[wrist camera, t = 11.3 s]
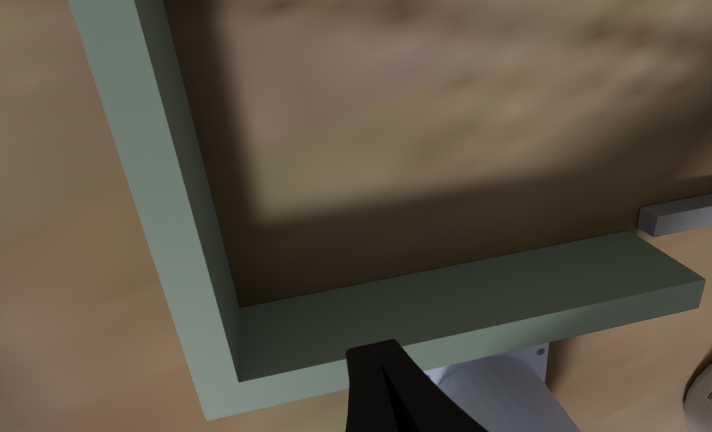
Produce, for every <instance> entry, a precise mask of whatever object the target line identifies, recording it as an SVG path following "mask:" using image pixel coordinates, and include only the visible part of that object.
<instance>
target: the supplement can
mask: <svg viewBox="0 0 712 432" xmlns="http://www.w3.org/2000/svg"><path fill="white" fill-rule="evenodd" d="M684 405H685V410H686V412H685V419H686V424H687V427H688V428H689V429H690V430H691V431H692V432H712V363H711V364H710V365H709V366H708V367H707V368H706V369H705V370H704V371H703V372H702V373H701V374H700V375H698V376H697V377H696V379H695V381H694V382H693V384H692V385H691V387H690V388H689V390H688V392H687V396H686V399H685V403H684Z"/></svg>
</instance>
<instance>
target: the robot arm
mask: <svg viewBox="0 0 712 432" xmlns="http://www.w3.org/2000/svg"><path fill="white" fill-rule="evenodd" d="M548 348H549V342H548V343H544V344H539V345H535V346H531V347H526V348H522V349H518V350H513V351H509V352H505V353H500V354H496V355H492V356H487V357H483V358H479V359H474V360H470V361H466V362H461V363H457V364H453V365H448V366H444V367H440V368H435V369H431V370H427V371H422V369H421V368H420V367H419V366H418V365H417V364H416V363H415V362H414V361H413V359H412V358H411V357H410V356H409V355H408V354H407V352H406V351H405V350H404V349H403V347H402V346H401V345H400V344H399V342H398V341H396V340H395V339H390V340H386V341H381V342H376V343H372V344H367V345H363V346H358V347H353V348H349V349H348V350H347V351H346V353H345V354H346V362H347V369H348V376H349V401H348V416H347V424H346V431H345V432H581V431H580V430H579V429H578V427H577V426H576V425H575V423H574V422H573V421H572V419H571V418H570V417H569V415H568V414H567V413H566V411H565V410H564V409H563V407H562V406H561V405H560V403H559V402H558V401H557V400H556V398H555V397H554V396H553V394H552V393H551V392H550V390H549V389H548V388H547V386H546V385H545V377H546V367H547V358H548Z"/></svg>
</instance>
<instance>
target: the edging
mask: <svg viewBox="0 0 712 432" xmlns="http://www.w3.org/2000/svg"><path fill="white" fill-rule="evenodd" d="M711 225H712V194H707V195H702V196H697V197H692V198H687V199H682V200H676V201H671V202H666V203H661V204H656V205H650V206H645V207H641V209H640V214H639V219H638V225H637V227H638V228H639V229H641V230H643V231H644V232H646V233H647V234H649V235H651V236H652V237H657V236H662V235H667V234H672V233H677V232H682V231H687V230H691V229H696V228H701V227H706V226H711Z"/></svg>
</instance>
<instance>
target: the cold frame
mask: <svg viewBox="0 0 712 432" xmlns="http://www.w3.org/2000/svg"><path fill="white" fill-rule="evenodd" d="M68 1H69V4H70V7H71V10H72V14H73V17H74V20H75V23H76V26H77V29H78V32H79V35H80V38H81V41H82V44H83V47H84V50H85V53H86V56H87V59H88V62H89V65H90V68H91V71H92V74H93V77H94V80H95V84H96V87H97V90H98V93H99V96H100V99H101V102H102V105H103V108H104V111H105V114H106V117H107V120H108V123H109V126H110V129H111V132H112V135H113V138H114V141H115V144H116V147H117V151H118V154H119V157H120V160H121V163H122V166H123V169H124V172H125V175H126V178H127V181H128V184H129V187H130V190H131V193H132V196H133V199H134V202H135V205H136V208H137V211H138V214H139V217H140V221H141V224H142V227H143V230H144V233H145V236H146V239H147V242H148V245H149V248H150V251H151V254H152V257H153V260H154V263H155V266H156V269H157V272H158V275H159V278H160V281H161V284H162V287H163V291H164V294H165V297H166V300H167V303H168V306H169V309H170V312H171V315H172V318H173V321H174V324H175V327H176V330H177V333H178V336H179V339H180V342H181V345H182V348H183V351H184V354H185V358H186V361H187V364H188V367H189V370H190V373H191V376H192V379H193V382H194V385H195V388H196V391H197V394H198V397H199V400H200V403H201V406H202V409H203V412H204V415H205V418H206V421H209V420H214V419H218V418H222V417H227V416H231V415H235V414H240V413H244V412H248V411H253V410H257V409H261V408H266V407H270V406H274V405H279V404H283V403H287V402H292V401H296V400H301V399H305V398H309V397H314V396H318V395H322V394H327V393H331V392H335V391H340V390H344V389H348V388H349V376H348V369H347V362H346V354H345V353H346V351H347V350H348V349H349V348H353V347H358V346H363V345H367V344H372V343H376V342H381V341H386V340H390V339H395V340H396V341H398V342H399V344H400V345H401V346H402V347H403V349H404V350H405V351H406V352H407V354H408V355H409V356H410V357H411V358H412V359H413V361H414V362H415V363H416V364H417V365H418V366H419V367H420V368H421V369H422V371H427V370H431V369H435V368H440V367H444V366H448V365H453V364H457V363H461V362H466V361H470V360H474V359H479V358H483V357H487V356H492V355H496V354H500V353H505V352H509V351H513V350H518V349H522V348H526V347H531V346H535V345H539V344H544V343H548V342H552V341H557V340H561V339H566V338H570V337H574V336H579V335H583V334H587V333H592V332H596V331H600V330H605V329H609V328H613V327H618V326H622V325H626V324H631V323H635V322H639V321H644V320H648V319H652V318H657V317H661V316H665V315H670V314H674V313H678V312H683V311H687V310H692V309H696V308H698V307H699V304H700V300H701V296H702V293H703V289H704V285H705V282H706V279H705V278H703V277H701V276H700V275H698V274H697V273H695V272H694V271H692V270H690V269H689V268H687V267H686V266H684V265H682V264H681V263H679V262H678V261H676V260H675V259H673V258H671V257H670V256H668V255H667V254H665V253H664V252H662V251H660V250H659V249H657V248H656V247H654V246H652V245H651V244H649V243H648V242H646V241H645V240H643V239H641V238H640V237H638V236H637V235H635V234H633V233H632V232H630V231H629V230H628V231H623V232H618V233H613V234H608V235H603V236H598V237H593V238H588V239H583V240H578V241H573V242H568V243H563V244H558V245H553V246H548V247H543V248H538V249H533V250H528V251H523V252H518V253H513V254H508V255H503V256H498V257H493V258H488V259H483V260H478V261H473V262H468V263H463V264H458V265H453V266H448V267H443V268H438V269H433V270H428V271H423V272H418V273H412V274H407V275H402V276H397V277H392V278H387V279H382V280H377V281H372V282H367V283H362V284H357V285H352V286H347V287H342V288H337V289H332V290H327V291H322V292H317V293H312V294H307V295H302V296H297V297H292V298H287V299H282V300H277V301H272V302H267V303H262V304H257V305H252V306H247V307H242V308H240V307H239V303H238V299H237V295H236V291H235V287H234V283H233V279H232V275H231V271H230V267H229V263H228V259H227V255H226V251H225V247H224V243H223V239H222V235H221V231H220V227H219V223H218V219H217V215H216V211H215V207H214V203H213V199H212V195H211V191H210V187H209V183H208V179H207V175H206V171H205V167H204V163H203V159H202V155H201V151H200V147H199V142H198V138H197V134H196V130H195V126H194V122H193V118H192V114H191V110H190V106H189V102H188V98H187V94H186V90H185V86H184V82H183V78H182V74H181V70H180V66H179V62H178V58H177V54H176V50H175V46H174V42H173V38H172V34H171V30H170V26H169V22H168V18H167V14H166V10H165V6H164V2H163V0H68Z"/></svg>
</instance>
